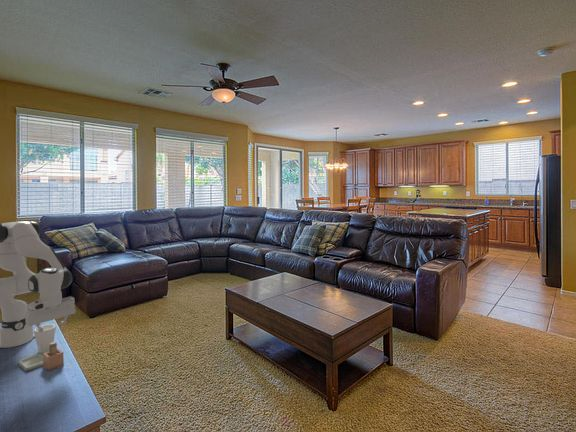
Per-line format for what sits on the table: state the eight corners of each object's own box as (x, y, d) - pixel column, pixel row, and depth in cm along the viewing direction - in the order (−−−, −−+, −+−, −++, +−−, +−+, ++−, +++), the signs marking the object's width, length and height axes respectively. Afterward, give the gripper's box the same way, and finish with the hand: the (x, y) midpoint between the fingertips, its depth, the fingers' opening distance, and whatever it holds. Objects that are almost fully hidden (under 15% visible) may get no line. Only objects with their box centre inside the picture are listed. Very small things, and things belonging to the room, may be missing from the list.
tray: (18, 363, 159) (17, 360, 159) (39, 356, 167) (39, 353, 167) (26, 371, 153) (26, 368, 153) (48, 363, 160) (48, 360, 160)
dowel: (48, 365, 157) (48, 343, 157) (55, 362, 160) (55, 341, 159) (51, 366, 156) (50, 345, 155) (58, 364, 158) (57, 343, 157)
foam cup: (44, 355, 168) (43, 332, 167) (30, 353, 170) (29, 330, 169) (60, 347, 177) (59, 324, 176) (47, 345, 179) (46, 323, 178)
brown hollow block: (43, 367, 157) (43, 353, 156) (58, 361, 162) (57, 348, 162) (48, 371, 153) (48, 357, 153) (63, 365, 159) (63, 352, 158)
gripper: (71, 294, 166) (72, 319, 167) (23, 305, 149) (24, 333, 150) (77, 296, 162) (78, 322, 163) (28, 308, 145) (29, 337, 146)
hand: (52, 328), depth 156 cm, fingers open, 8 cm apart
